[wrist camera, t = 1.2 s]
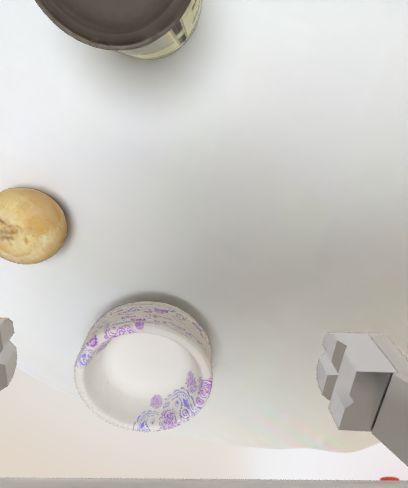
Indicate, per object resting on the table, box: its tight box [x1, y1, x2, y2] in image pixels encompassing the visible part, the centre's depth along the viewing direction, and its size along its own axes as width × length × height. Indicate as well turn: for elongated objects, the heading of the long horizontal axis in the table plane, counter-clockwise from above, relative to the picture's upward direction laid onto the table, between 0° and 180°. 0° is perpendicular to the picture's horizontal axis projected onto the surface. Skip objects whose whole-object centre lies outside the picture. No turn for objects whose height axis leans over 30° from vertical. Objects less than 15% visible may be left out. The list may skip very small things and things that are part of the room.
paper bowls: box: [74, 301, 213, 432], centre depth 44 cm, size 15×15×8 cm
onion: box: [0, 188, 67, 264], centre depth 38 cm, size 8×8×7 cm
